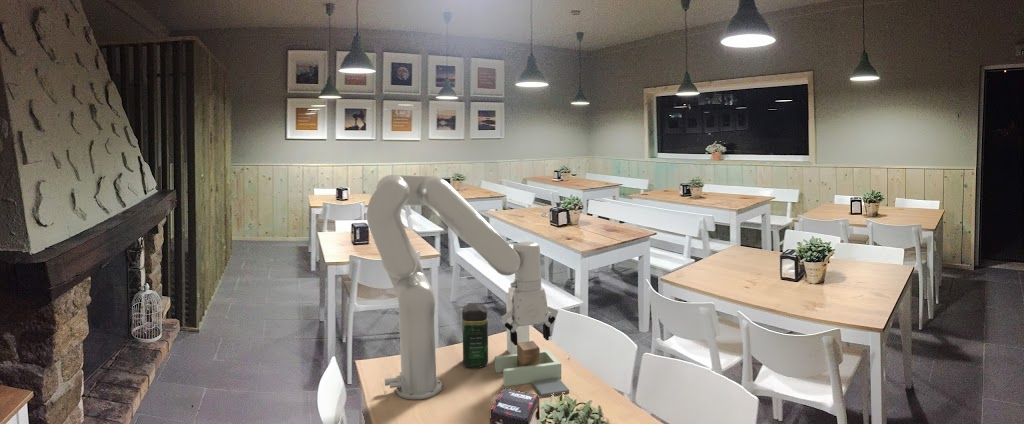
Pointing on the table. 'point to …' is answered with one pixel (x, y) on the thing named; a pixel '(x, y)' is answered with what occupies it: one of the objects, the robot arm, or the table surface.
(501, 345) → the table surface
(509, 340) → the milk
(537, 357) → the walnut block
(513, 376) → the pale green u-shaped bracket
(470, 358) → the coffee jar
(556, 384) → the coaster
